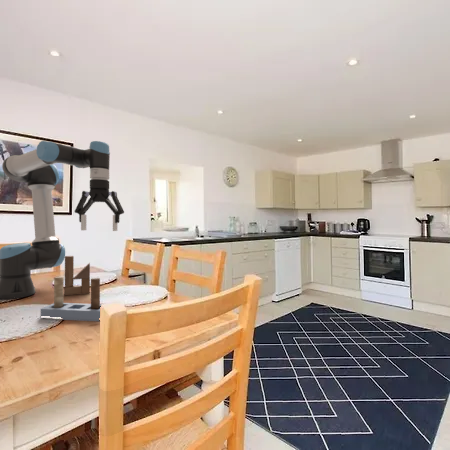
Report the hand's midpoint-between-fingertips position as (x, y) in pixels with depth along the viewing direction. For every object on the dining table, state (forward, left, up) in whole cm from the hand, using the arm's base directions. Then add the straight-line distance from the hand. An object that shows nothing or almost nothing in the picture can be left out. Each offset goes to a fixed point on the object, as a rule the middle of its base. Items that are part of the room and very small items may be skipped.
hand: (99, 230), depth 122 cm
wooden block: (-18, +14, -31) cm, 38 cm away
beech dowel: (-7, -16, -31) cm, 35 cm away
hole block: (0, -16, -31) cm, 35 cm away
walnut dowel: (+7, -16, -31) cm, 35 cm away
